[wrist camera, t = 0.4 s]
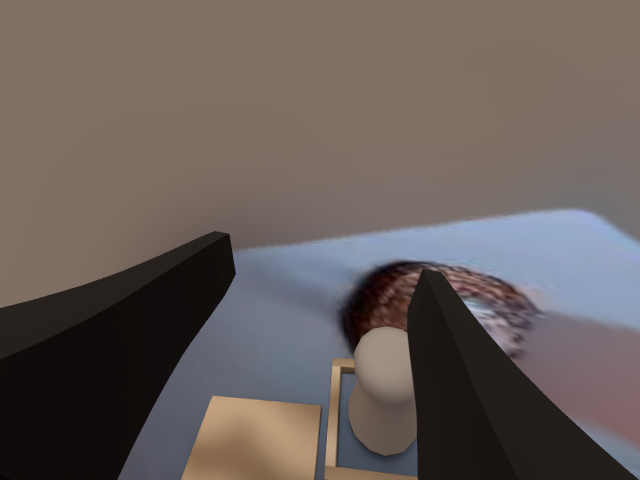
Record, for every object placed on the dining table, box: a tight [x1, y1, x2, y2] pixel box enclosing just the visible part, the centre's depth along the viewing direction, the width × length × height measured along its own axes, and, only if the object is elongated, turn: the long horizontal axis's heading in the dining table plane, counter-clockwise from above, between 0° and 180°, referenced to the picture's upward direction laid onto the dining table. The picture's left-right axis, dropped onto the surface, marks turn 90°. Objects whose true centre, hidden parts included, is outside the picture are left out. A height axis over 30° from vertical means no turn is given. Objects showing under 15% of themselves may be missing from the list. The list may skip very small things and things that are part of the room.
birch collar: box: [324, 358, 418, 480], centre depth 23 cm, size 9×9×2 cm
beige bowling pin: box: [348, 326, 417, 456], centre depth 19 cm, size 6×6×13 cm
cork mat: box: [181, 396, 322, 480], centre depth 21 cm, size 11×11×1 cm
